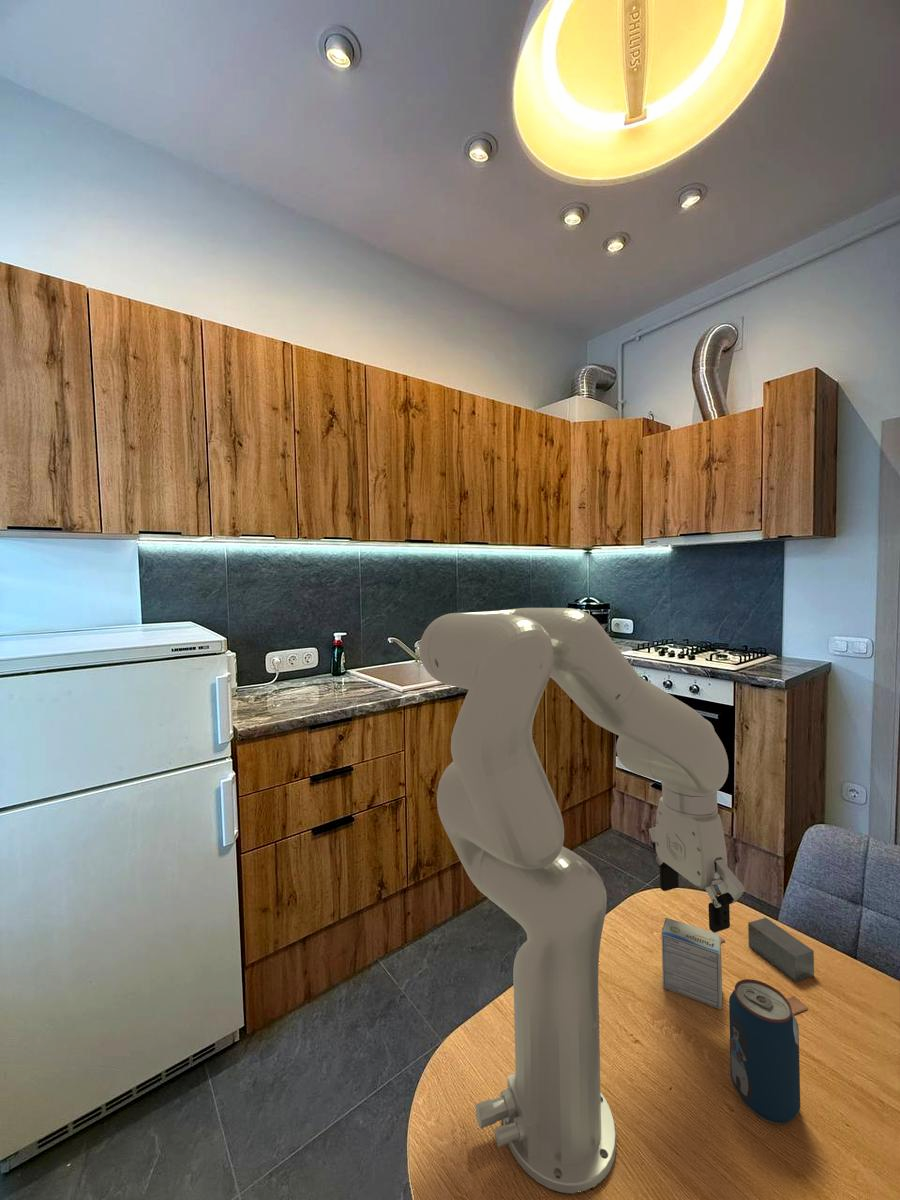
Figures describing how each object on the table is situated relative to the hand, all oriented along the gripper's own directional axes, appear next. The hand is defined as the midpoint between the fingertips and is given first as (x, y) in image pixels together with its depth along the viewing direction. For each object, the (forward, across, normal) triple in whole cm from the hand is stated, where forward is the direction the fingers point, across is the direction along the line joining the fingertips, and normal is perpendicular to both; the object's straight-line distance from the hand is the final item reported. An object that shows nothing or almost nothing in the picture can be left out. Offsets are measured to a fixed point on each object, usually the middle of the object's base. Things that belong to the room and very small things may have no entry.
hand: (693, 907), depth 71 cm
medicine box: (+12, 0, -1) cm, 13 cm away
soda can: (+12, +15, -5) cm, 20 cm away
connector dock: (+13, 0, +11) cm, 17 cm away
